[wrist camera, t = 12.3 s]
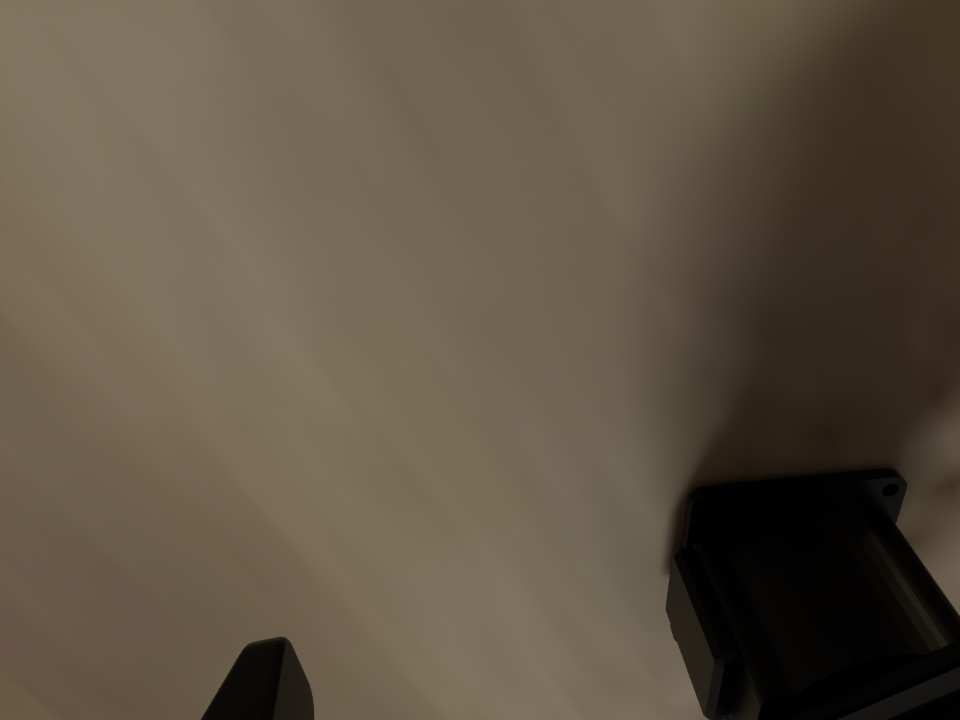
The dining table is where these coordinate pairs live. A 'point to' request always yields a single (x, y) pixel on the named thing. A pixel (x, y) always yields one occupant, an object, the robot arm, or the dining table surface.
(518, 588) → the dining table surface
